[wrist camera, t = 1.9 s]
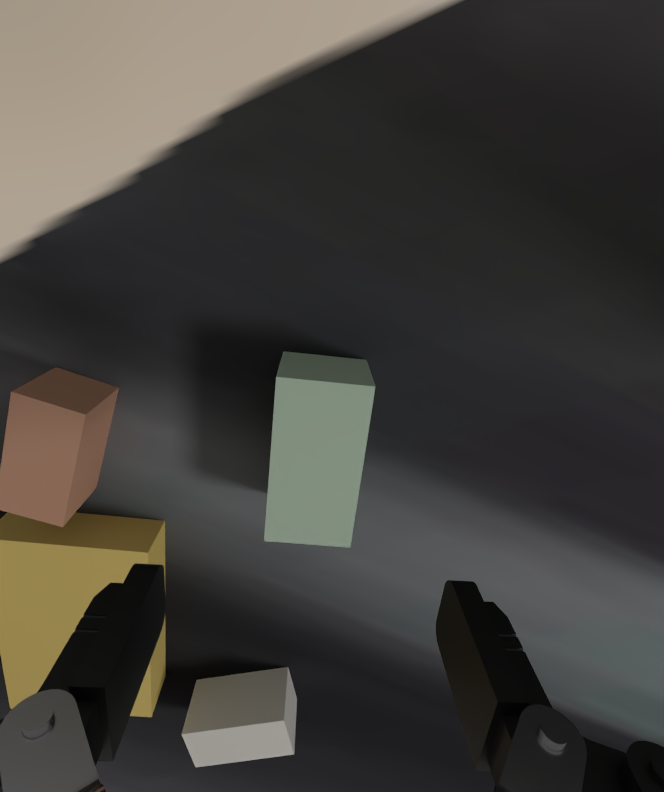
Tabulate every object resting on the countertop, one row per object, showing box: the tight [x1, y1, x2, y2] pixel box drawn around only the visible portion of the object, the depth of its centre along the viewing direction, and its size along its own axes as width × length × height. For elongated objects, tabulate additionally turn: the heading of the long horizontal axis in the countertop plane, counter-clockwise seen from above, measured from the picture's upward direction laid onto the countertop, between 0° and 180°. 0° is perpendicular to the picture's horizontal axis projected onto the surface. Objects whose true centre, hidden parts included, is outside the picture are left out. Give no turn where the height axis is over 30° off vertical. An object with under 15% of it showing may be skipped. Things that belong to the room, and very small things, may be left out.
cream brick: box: [182, 667, 297, 767], centre depth 28 cm, size 6×3×4 cm, turn 99°
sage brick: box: [264, 351, 375, 547], centre depth 21 cm, size 4×8×4 cm, turn 173°
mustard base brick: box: [0, 512, 165, 717], centre depth 26 cm, size 8×12×3 cm, turn 173°
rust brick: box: [0, 367, 119, 527], centre depth 21 cm, size 6×3×4 cm, turn 159°
